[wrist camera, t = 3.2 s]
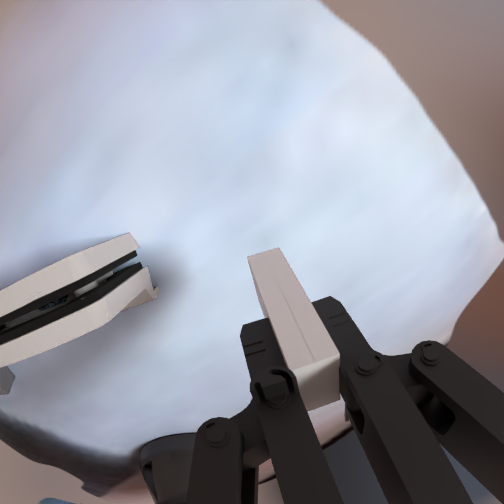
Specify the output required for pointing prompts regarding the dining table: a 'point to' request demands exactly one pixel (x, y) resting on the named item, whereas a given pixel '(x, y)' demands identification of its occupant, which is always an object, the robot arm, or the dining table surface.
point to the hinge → (71, 298)
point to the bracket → (5, 380)
